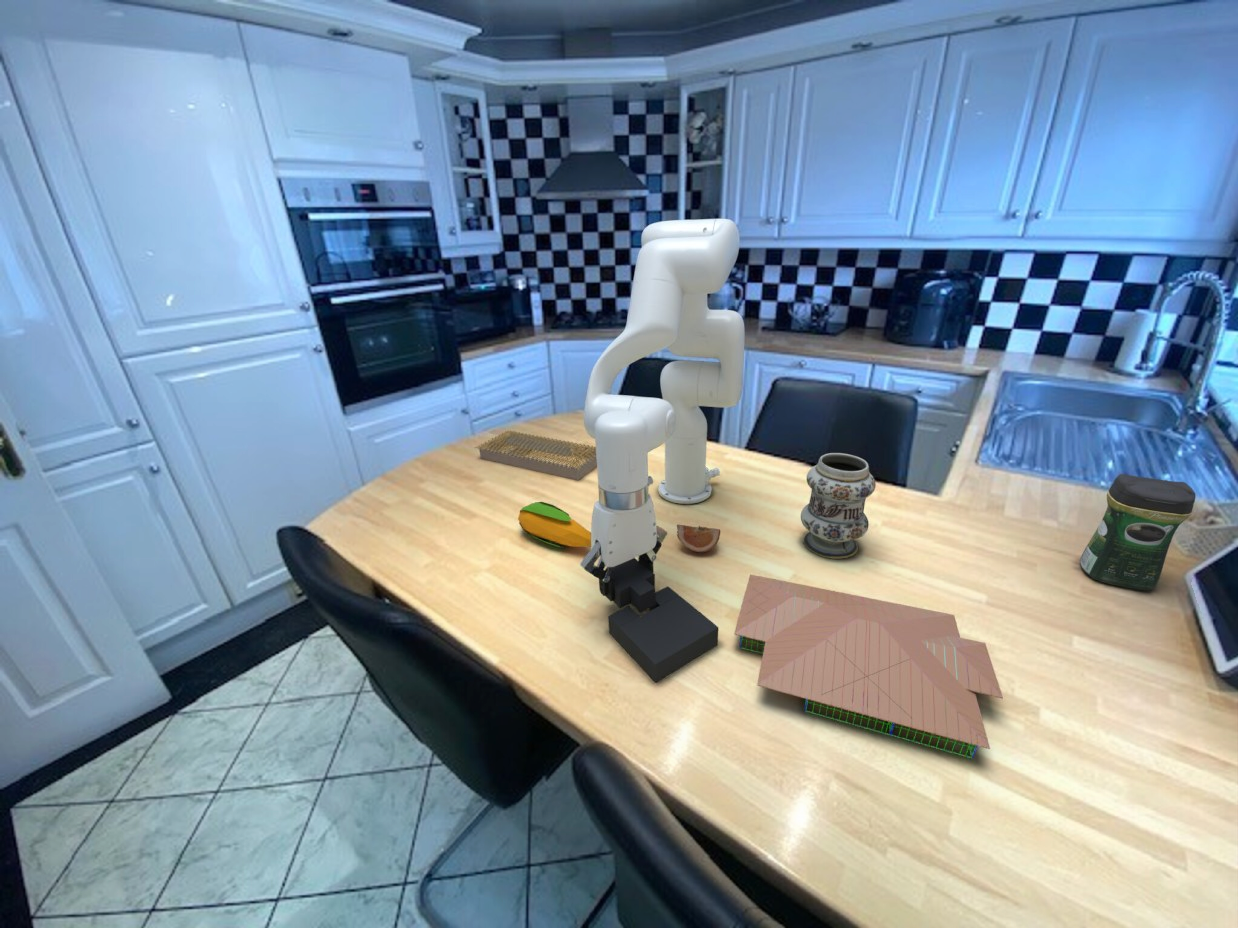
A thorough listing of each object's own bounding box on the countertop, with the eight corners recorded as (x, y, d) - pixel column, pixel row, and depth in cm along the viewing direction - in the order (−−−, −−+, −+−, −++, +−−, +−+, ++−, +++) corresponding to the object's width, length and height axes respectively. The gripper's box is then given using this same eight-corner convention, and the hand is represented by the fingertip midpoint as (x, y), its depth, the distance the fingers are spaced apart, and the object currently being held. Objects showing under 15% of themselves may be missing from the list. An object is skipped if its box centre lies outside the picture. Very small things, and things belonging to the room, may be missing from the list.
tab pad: (634, 573, 88) (633, 556, 87) (665, 600, 82) (665, 582, 80) (600, 589, 85) (598, 572, 83) (630, 618, 78) (629, 600, 77)
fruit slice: (673, 553, 99) (673, 532, 97) (680, 535, 105) (680, 514, 102) (716, 560, 96) (717, 538, 94) (721, 540, 102) (722, 519, 100)
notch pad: (667, 602, 86) (667, 585, 85) (717, 644, 77) (718, 627, 76) (609, 632, 80) (607, 615, 79) (655, 682, 71) (655, 664, 70)
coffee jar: (1143, 570, 89) (1190, 475, 81) (1159, 597, 82) (1212, 497, 74) (1073, 556, 93) (1110, 465, 85) (1083, 580, 87) (1125, 485, 79)
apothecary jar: (864, 534, 102) (880, 453, 94) (862, 568, 92) (880, 481, 84) (801, 523, 107) (811, 444, 99) (793, 554, 97) (804, 470, 89)
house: (1011, 775, 58) (1033, 726, 54) (721, 692, 69) (724, 648, 66) (970, 635, 77) (984, 593, 73) (748, 589, 88) (752, 550, 85)
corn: (531, 489, 109) (605, 514, 98) (537, 518, 113) (609, 545, 102) (506, 506, 104) (582, 534, 93) (513, 536, 107) (586, 566, 97)
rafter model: (476, 458, 144) (472, 439, 141) (509, 440, 155) (506, 422, 152) (579, 482, 128) (577, 460, 125) (608, 460, 139) (606, 439, 137)
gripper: (653, 468, 83) (654, 557, 91) (560, 500, 75) (570, 595, 82) (683, 485, 78) (682, 578, 85) (586, 521, 69) (594, 621, 77)
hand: (627, 586), depth 84 cm, fingers closed on tab pad, 7 cm apart
